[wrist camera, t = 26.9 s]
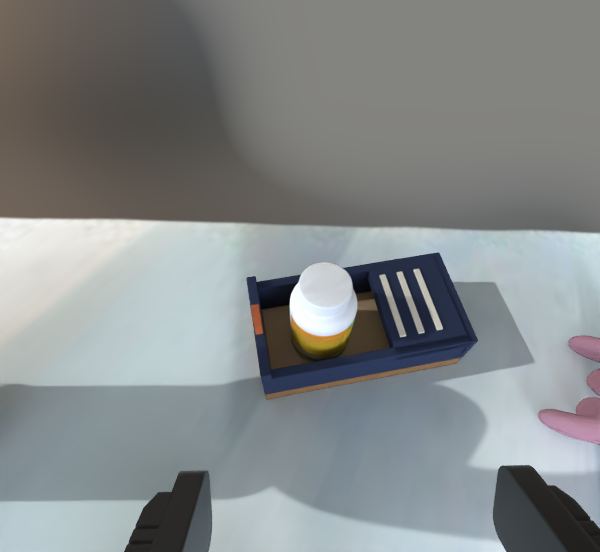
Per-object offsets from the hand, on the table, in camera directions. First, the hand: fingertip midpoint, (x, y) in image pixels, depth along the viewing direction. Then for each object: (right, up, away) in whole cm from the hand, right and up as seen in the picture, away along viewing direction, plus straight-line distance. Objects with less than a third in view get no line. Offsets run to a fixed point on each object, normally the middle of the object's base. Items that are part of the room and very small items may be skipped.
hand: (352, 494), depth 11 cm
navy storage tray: (+4, 0, +29) cm, 29 cm away
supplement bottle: (0, 0, +27) cm, 27 cm away
